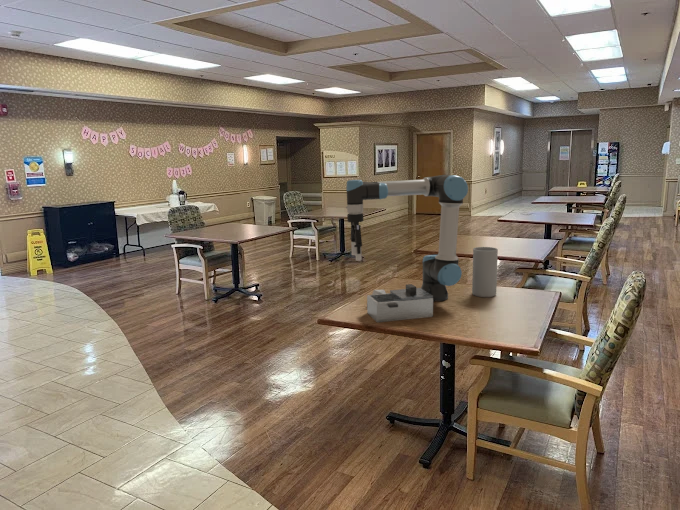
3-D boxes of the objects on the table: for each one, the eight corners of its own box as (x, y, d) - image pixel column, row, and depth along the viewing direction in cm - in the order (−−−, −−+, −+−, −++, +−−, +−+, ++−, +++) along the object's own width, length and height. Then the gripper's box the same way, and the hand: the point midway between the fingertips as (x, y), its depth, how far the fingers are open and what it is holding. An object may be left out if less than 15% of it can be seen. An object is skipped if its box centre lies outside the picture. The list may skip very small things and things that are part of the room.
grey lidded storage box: (418, 306, 260) (418, 289, 258) (434, 317, 242) (434, 299, 240) (366, 312, 253) (365, 294, 252) (378, 323, 235) (378, 304, 234)
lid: (419, 289, 257) (419, 280, 256) (432, 297, 242) (433, 288, 241) (389, 292, 253) (389, 283, 252) (401, 300, 238) (401, 291, 237)
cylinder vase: (470, 291, 287) (472, 246, 282) (494, 291, 285) (495, 246, 280) (473, 297, 275) (474, 251, 270) (497, 297, 273) (499, 251, 268)
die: (382, 310, 258) (392, 293, 259) (367, 301, 258) (376, 284, 260) (381, 311, 266) (390, 294, 268) (366, 302, 267) (375, 286, 268)
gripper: (343, 210, 255) (345, 253, 259) (350, 216, 230) (352, 263, 234) (359, 210, 255) (360, 252, 259) (367, 215, 231) (368, 262, 235)
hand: (356, 257), depth 247 cm, fingers open, 13 cm apart
